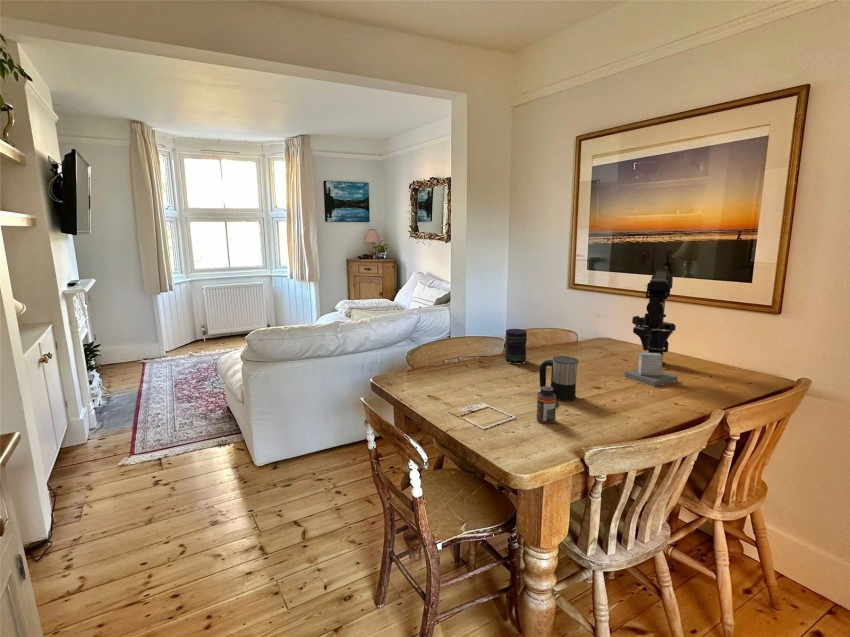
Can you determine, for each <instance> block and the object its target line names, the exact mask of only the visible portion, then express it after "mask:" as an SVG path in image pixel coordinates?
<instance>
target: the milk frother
mask: <svg viewBox="0 0 850 637" xmlns="http://www.w3.org/2000/svg"><path fill="white" fill-rule="evenodd" d="M578 363H579V359H578V358H577V357H574V356H567V355H556V356H553V357H552V359H545V361H543V362H542V363H540V365H539V368H538V370H539V386H540V388H541V387H543V386H547V367H551V376H550V377H551V379H550V387H552V388H553V394H555V396H556V406H557V405H558V403H559V401H562V402H572V401H575V400H576V399H577V395H576V389H577V388H576V387H577V375H578V374H577V372H578ZM540 392H541V391H539V392H538V393H537V395H538V394H539V393H540Z"/></svg>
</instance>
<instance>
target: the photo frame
mask: <svg viewBox="0 0 850 637" xmlns="http://www.w3.org/2000/svg"><path fill="white" fill-rule="evenodd" d="M479 402H480V403H481V401H480V400H479ZM487 406H489V407H491V408H493V409H495V410H497V411H499V412H498V413H500V412H502V413H504V414H506V415H505V416H507V415H508V416H507V417H509V416H510V417H509V418H506V419H503V420H501V421H499V422H498V421H497V422H495V423H492V424H490V425H487V426H482V425H480V424H479V423H478V424H477V423H476V422H473V421H472V420H470V419H469V418H468V419H467V418H466V417H464V418H465V419H466V420H468V421H469V422H471V423H473V424H475V425H477V426H479V427H481V428H483V429H486V428H488V429H490V428H489V427H491V428H493V427H492V426H494V427H496V426H495V425H497V424H500V425H502V424H504V423H503V422H505V423H507V422H506V421H508V422H510V421H509V420H511V421H513V420H516V419H517V417H516V416H515V415H512V414H510V413H507V412H505V411H503V410H501V409H498V408H496V407H493V406H492V405H489V404H486V403H484V402H482V405H480V404H479V405H476V404H475V405H472V406H469V407H465V408H462V409H459V410H460V411H462V412H465V411H468V410H472V409H473V410H474V411H475V410H478V409H481V408H484V407H487ZM491 408H490V409H491ZM493 409H492V410H493ZM473 410H472V411H473ZM495 410H494V411H495ZM497 411H496V412H497ZM470 412H471V411H470ZM467 413H468V412H467ZM502 413H501V414H502ZM504 414H503V415H504ZM511 416H512V417H511ZM515 418H516V419H515ZM512 419H513V420H512ZM469 422H468V423H469ZM471 423H470V424H471ZM501 423H502V424H501ZM473 424H472V425H473ZM475 425H474V426H475ZM477 426H476V427H477ZM497 426H498V425H497ZM479 427H478V428H479ZM481 428H480V429H481ZM483 429H482V430H483ZM486 430H487V429H486Z"/></svg>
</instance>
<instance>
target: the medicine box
mask: <svg viewBox="0 0 850 637" xmlns="http://www.w3.org/2000/svg"><path fill="white" fill-rule="evenodd" d="M638 356H639V357H638V372H639V374H640V375H650V376H661V371H662V368H663V364H662V360H663V361H664V355H663V356H662V355H661V354H660V353H648V352H639V355H638ZM662 372H663V371H662Z"/></svg>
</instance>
